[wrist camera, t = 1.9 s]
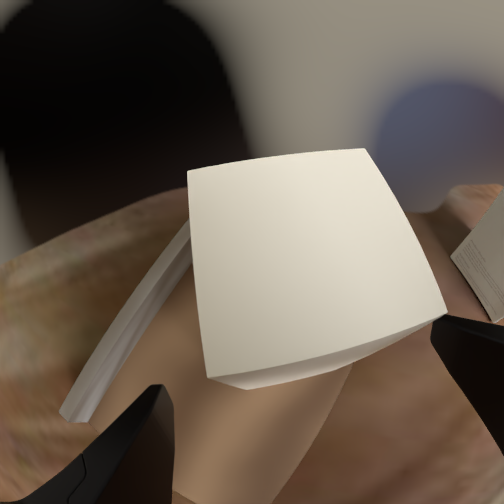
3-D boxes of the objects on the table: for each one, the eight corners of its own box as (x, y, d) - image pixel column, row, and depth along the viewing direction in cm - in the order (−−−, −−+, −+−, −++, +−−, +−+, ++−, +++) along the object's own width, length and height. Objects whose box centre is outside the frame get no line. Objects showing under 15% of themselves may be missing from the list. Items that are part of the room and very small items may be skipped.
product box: (333, 370, 16) (447, 312, 5) (246, 390, 15) (207, 377, 5) (311, 287, 18) (360, 142, 8) (230, 303, 18) (187, 164, 8)
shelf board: (372, 306, 19) (392, 287, 16) (250, 521, 11) (247, 544, 8) (208, 228, 23) (200, 200, 19) (85, 411, 15) (56, 409, 12)
